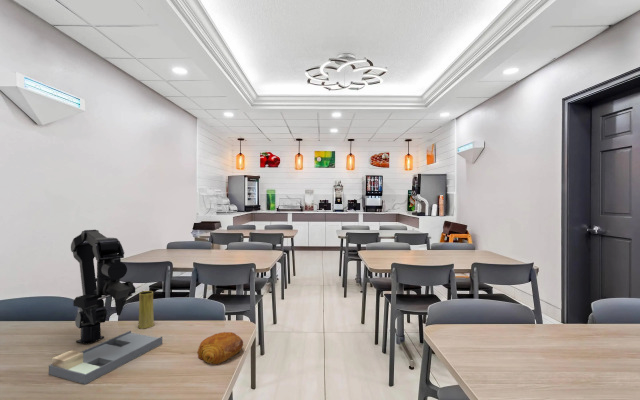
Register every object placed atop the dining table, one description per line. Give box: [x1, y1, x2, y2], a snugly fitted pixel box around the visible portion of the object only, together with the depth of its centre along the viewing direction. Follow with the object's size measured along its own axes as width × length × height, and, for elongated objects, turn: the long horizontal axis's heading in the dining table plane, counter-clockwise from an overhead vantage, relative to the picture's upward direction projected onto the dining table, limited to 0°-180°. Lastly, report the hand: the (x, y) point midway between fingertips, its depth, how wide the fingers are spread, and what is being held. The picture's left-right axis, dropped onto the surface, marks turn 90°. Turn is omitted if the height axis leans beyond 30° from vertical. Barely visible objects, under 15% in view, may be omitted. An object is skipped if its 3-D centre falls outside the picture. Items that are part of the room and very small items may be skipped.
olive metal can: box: [137, 290, 155, 330], centre depth 138 cm, size 6×6×14 cm
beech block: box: [51, 350, 83, 369], centre depth 102 cm, size 6×6×3 cm
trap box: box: [48, 330, 163, 385], centre depth 111 cm, size 16×28×3 cm, turn 161°
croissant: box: [197, 331, 244, 365], centre depth 114 cm, size 14×16×8 cm
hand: (106, 319), depth 113 cm, fingers open, 9 cm apart
